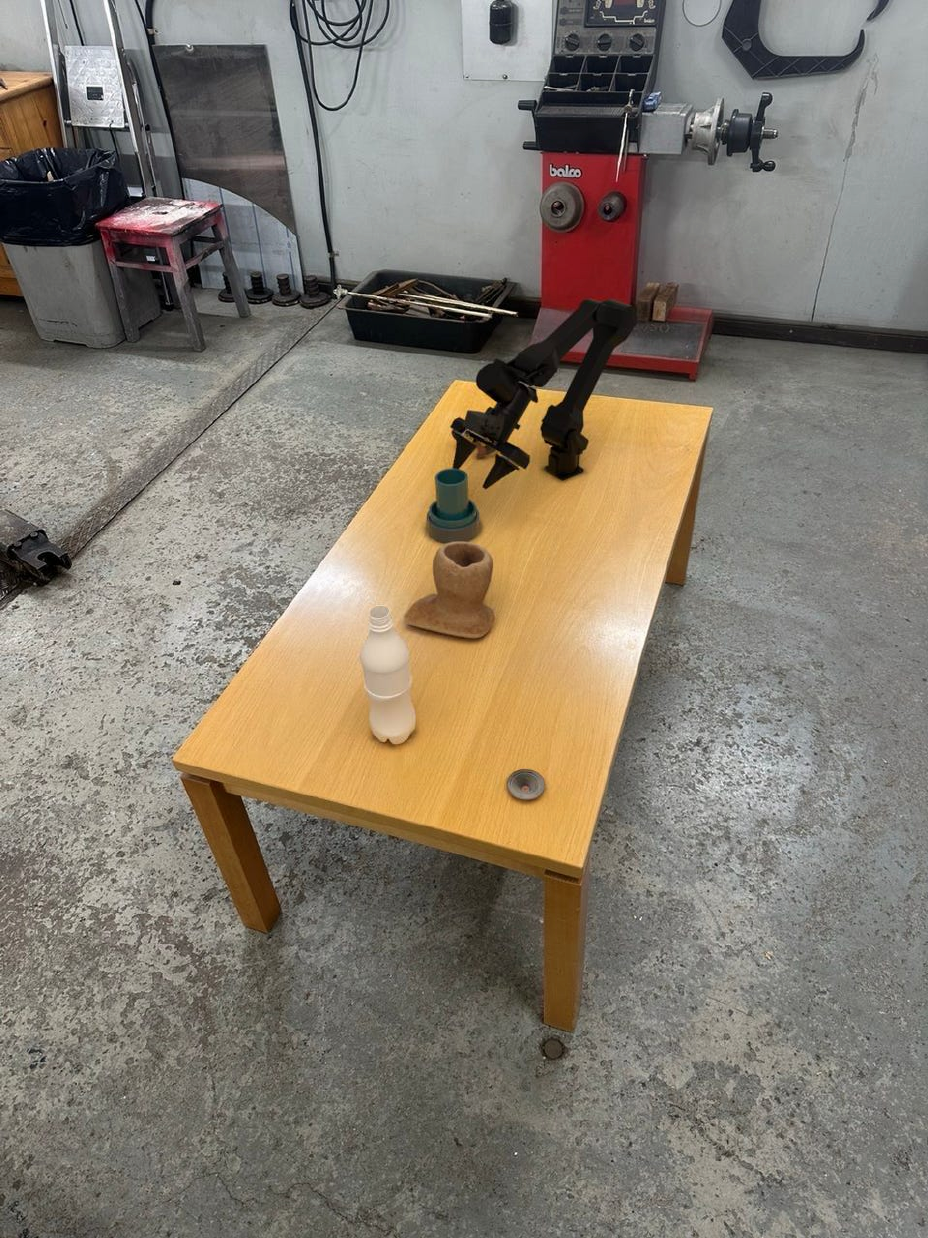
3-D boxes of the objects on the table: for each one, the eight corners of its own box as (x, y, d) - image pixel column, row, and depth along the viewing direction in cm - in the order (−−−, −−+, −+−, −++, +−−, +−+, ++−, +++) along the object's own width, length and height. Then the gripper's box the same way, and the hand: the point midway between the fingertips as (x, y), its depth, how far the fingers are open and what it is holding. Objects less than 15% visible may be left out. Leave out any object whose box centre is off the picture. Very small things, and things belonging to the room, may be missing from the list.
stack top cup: (459, 510, 181) (458, 490, 178) (485, 531, 175) (485, 511, 172) (421, 526, 177) (420, 506, 174) (447, 547, 171) (446, 527, 168)
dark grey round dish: (515, 808, 122) (515, 803, 122) (501, 780, 126) (501, 774, 126) (550, 798, 124) (550, 792, 123) (536, 769, 128) (536, 764, 127)
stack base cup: (460, 508, 182) (459, 495, 180) (489, 531, 175) (489, 518, 173) (417, 525, 178) (416, 512, 175) (446, 550, 171) (445, 536, 169)
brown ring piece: (497, 438, 206) (506, 418, 198) (495, 471, 202) (504, 452, 195) (449, 428, 204) (456, 408, 196) (445, 462, 200) (453, 442, 193)
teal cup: (466, 510, 178) (465, 466, 171) (470, 528, 173) (469, 483, 166) (435, 513, 177) (433, 469, 170) (439, 531, 172) (436, 486, 166)
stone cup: (504, 608, 156) (504, 541, 147) (482, 649, 148) (480, 582, 138) (428, 591, 161) (424, 525, 151) (403, 630, 153) (396, 564, 143)
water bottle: (371, 717, 137) (353, 597, 120) (416, 713, 137) (404, 593, 121) (371, 751, 131) (353, 631, 115) (417, 747, 132) (405, 626, 115)
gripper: (454, 379, 169) (415, 448, 171) (520, 410, 158) (477, 483, 160) (484, 402, 178) (447, 468, 180) (548, 433, 167) (508, 502, 169)
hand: (468, 479), depth 172 cm, fingers open, 9 cm apart
